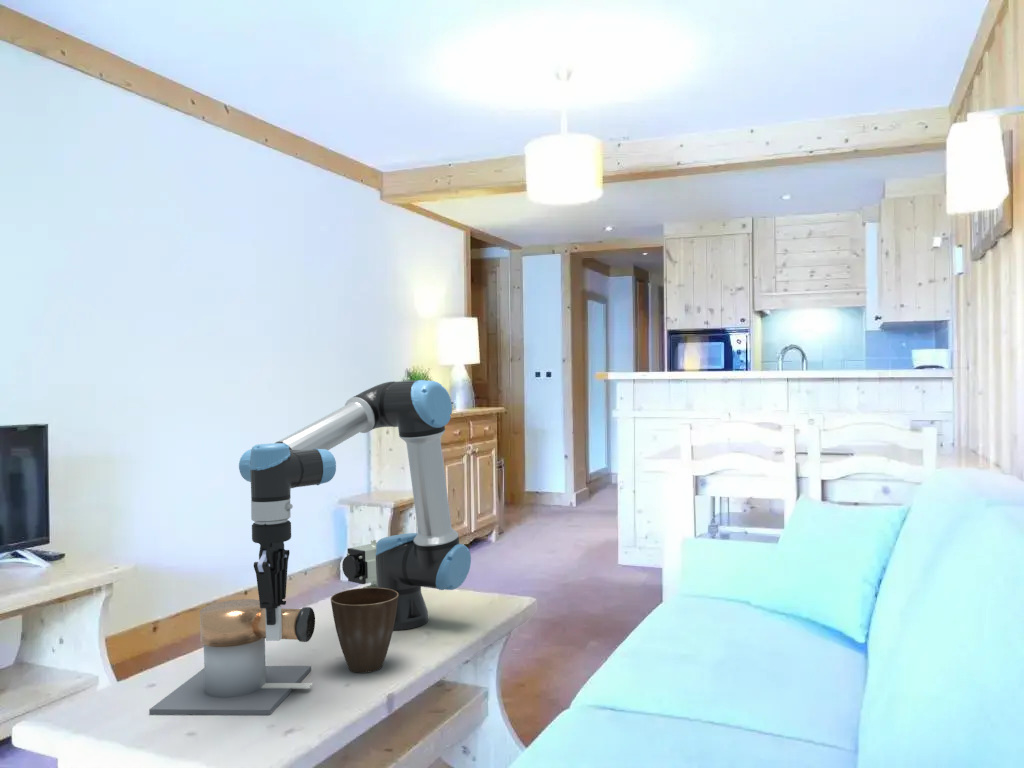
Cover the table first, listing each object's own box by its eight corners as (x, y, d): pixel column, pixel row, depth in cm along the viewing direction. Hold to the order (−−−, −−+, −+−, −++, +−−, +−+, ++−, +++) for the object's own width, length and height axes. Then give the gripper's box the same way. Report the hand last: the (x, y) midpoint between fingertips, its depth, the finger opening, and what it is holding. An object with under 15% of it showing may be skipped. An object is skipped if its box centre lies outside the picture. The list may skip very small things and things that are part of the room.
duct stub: (328, 670, 174) (327, 620, 174) (290, 715, 150) (288, 657, 150) (206, 670, 176) (205, 621, 176) (149, 714, 152) (148, 657, 152)
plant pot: (397, 653, 184) (396, 585, 184) (402, 675, 169) (400, 601, 170) (332, 659, 181) (331, 590, 181) (332, 682, 166) (330, 607, 166)
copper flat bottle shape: (187, 647, 158) (186, 613, 158) (223, 627, 171) (222, 596, 171) (293, 651, 153) (292, 617, 153) (322, 631, 166) (321, 599, 166)
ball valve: (360, 609, 222) (358, 547, 222) (342, 604, 228) (341, 543, 228) (408, 596, 236) (407, 537, 236) (390, 592, 241) (389, 534, 242)
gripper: (277, 526, 150) (280, 650, 149) (301, 515, 162) (303, 629, 162) (239, 526, 150) (241, 650, 150) (266, 516, 163) (268, 629, 163)
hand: (274, 639), depth 156 cm, fingers closed
